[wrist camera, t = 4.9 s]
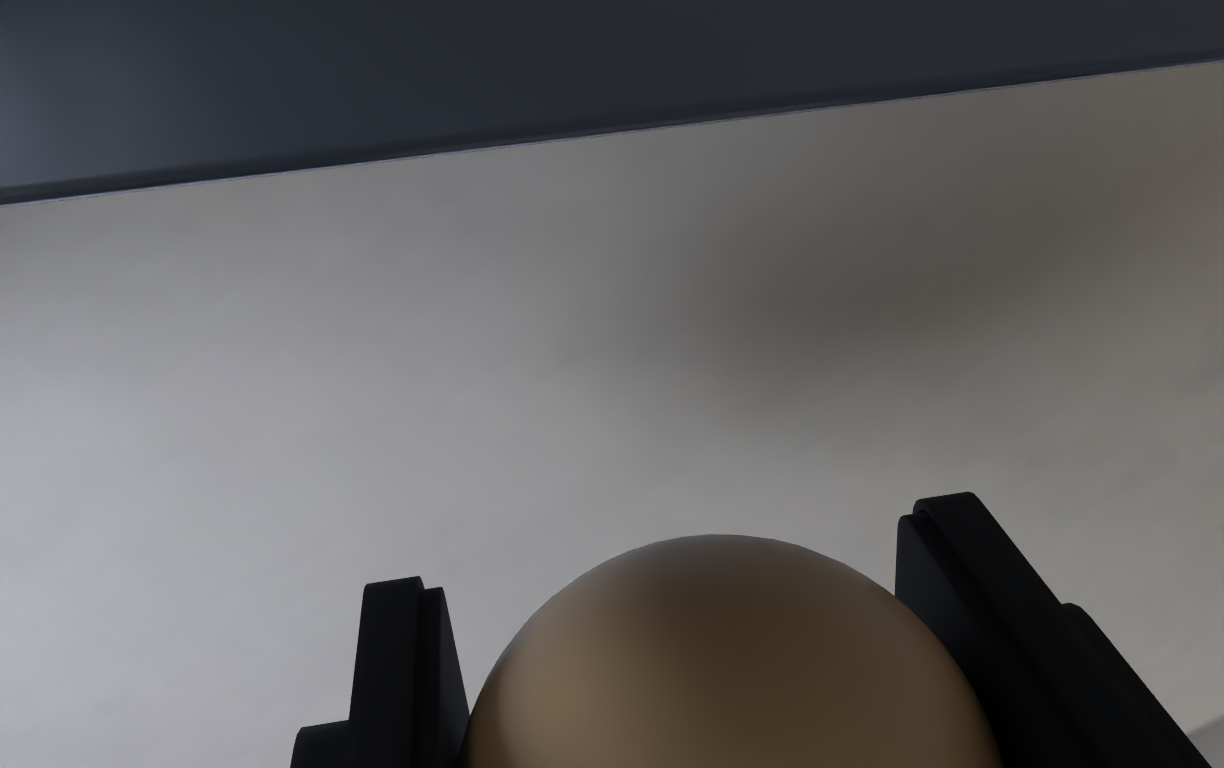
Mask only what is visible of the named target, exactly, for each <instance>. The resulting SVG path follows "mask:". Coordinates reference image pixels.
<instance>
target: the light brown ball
mask: <svg viewBox="0 0 1224 768" xmlns="http://www.w3.org/2000/svg"><path fill="white" fill-rule="evenodd" d="M456 768H1005V767H1004V763H1003V760H1002V757H1001V754H1000V751H999V747H998V744H997V741H996V739H995V736H994V733H993V730H992V728H991V725H990V722H989V720H988V717H987V715H986V713H985V711H984V709H983V707H982V705H981V703H980V701H979V699H978V697H977V695H976V693H975V691H974V689H973V688H972V686H971V685H970V683H969V681H968V680H967V678H966V676H965V675H964V673H963V671H962V670H961V668H960V667H959V665H958V664H957V663H956V661H955V660H954V658H953V657H952V656H951V654H950V653H949V652H948V650H947V649H946V647H945V646H944V645H943V643H942V642H941V641H940V640H939V639H938V638H937V637H936V636H935V635H934V633H933V632H932V631H931V630H930V629H929V628H928V627H927V626H926V625H925V624H924V623H923V622H922V621H921V620H920V619H919V618H918V617H917V616H916V615H915V614H914V613H913V612H912V611H911V610H910V609H909V608H908V607H907V606H906V605H905V604H903V603H902V602H901V601H900V600H898V599H897V598H896V597H895V596H893V595H892V594H891V593H890V592H888V591H887V590H886V589H884V588H883V587H881V586H880V585H878V584H877V583H876V582H874V581H873V580H871V579H870V578H868V577H867V576H865V575H863V574H861V573H860V572H858V571H856V570H854V569H853V568H851V567H849V566H847V565H846V564H844V563H842V562H839V561H837V560H834V559H832V558H829V557H827V556H824V555H822V554H819V553H817V552H814V551H812V550H809V549H807V548H804V547H802V546H799V545H795V544H791V543H787V542H783V541H779V540H775V539H768V538H760V537H752V536H744V535H717V534H707V535H697V536H687V537H679V538H675V539H670V540H665V541H660V542H655V543H652V544H649V545H646V546H643V547H640V548H637V549H633V550H630V551H628V552H626V553H623V554H621V555H619V556H616V557H614V558H612V559H610V560H607V561H605V562H603V563H602V564H600V565H598V566H596V567H595V568H593V569H591V570H590V571H588V572H586V573H584V574H583V575H581V576H580V577H578V578H577V579H576V580H574V581H573V582H572V583H570V584H569V585H568V586H566V587H565V588H563V589H562V590H561V591H559V592H558V593H557V594H555V595H554V596H553V597H551V598H550V599H549V600H548V601H547V602H546V603H545V604H544V605H543V606H542V607H541V608H540V609H539V610H537V611H536V612H535V613H534V614H533V615H532V616H531V617H530V618H529V620H528V621H527V622H526V623H525V624H524V626H523V627H522V628H521V629H520V631H519V632H518V633H517V634H516V635H515V637H514V638H513V639H512V641H511V642H510V643H509V645H508V646H507V647H506V648H505V650H504V651H503V652H502V654H501V655H500V657H499V659H498V660H497V662H496V664H495V665H494V667H493V669H492V670H491V672H490V674H489V675H488V677H487V679H486V681H485V683H484V685H483V688H482V690H481V692H480V694H479V696H478V698H477V701H476V703H475V706H474V708H473V710H472V713H471V715H470V718H469V720H468V722H467V726H466V730H465V734H464V737H463V741H462V745H461V749H460V753H459V758H458V762H457V766H456Z"/></svg>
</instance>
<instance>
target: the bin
mask: <svg viewBox="0 0 1224 768" xmlns="http://www.w3.org/2000/svg"><path fill="white" fill-rule="evenodd" d="M1222 62H1224V0H0V208H3V207H11V206H20V205H28V204H36V203H45V202H53V201H62V200H70V199H79V198H87V197H95V196H104V195H112V194H121V193H129V192H137V191H146V190H154V189H163V188H171V187H179V186H188V185H196V184H205V183H213V182H221V181H230V180H238V179H247V178H255V177H263V176H272V175H280V174H289V173H297V172H305V171H314V170H322V169H331V168H339V167H348V166H356V165H364V164H373V163H381V162H390V161H398V160H406V159H415V158H423V157H432V156H440V155H448V154H457V153H465V152H474V151H482V150H490V149H499V148H507V147H516V146H524V145H532V144H541V143H549V142H558V141H566V140H575V139H583V138H591V137H600V136H608V135H617V134H625V133H633V132H642V131H650V130H659V129H667V128H675V127H684V126H692V125H701V124H709V123H717V122H726V121H734V120H743V119H751V118H759V117H768V116H776V115H785V114H793V113H801V112H810V111H818V110H827V109H835V108H844V107H852V106H860V105H869V104H877V103H886V102H894V101H902V100H911V99H919V98H928V97H936V96H944V95H953V94H961V93H970V92H978V91H986V90H995V89H1003V88H1012V87H1020V86H1028V85H1037V84H1045V83H1054V82H1062V81H1070V80H1079V79H1087V78H1096V77H1104V76H1113V75H1121V74H1129V73H1138V72H1146V71H1155V70H1163V69H1171V68H1180V67H1188V66H1197V65H1205V64H1213V63H1222Z"/></svg>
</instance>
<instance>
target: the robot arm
mask: <svg viewBox="0 0 1224 768" xmlns="http://www.w3.org/2000/svg"><path fill="white" fill-rule="evenodd" d="M895 597H896V598H897V599H898V600H900V601H901V602H902V603H903V604H905V605H906V606H907V607H908V608H909V609H910V610H911V611H912V612H913V613H914V614H915V615H916V616H917V617H918V618H919V619H920V620H921V621H922V622H923V623H924V624H925V625H926V626H927V627H928V628H929V629H930V630H931V631H932V632H933V633H934V635H935V636H936V637H937V638H938V639H939V640H940V641H941V642H942V643H943V645H944V646H945V647H946V649H947V650H948V652H949V653H950V654H951V656H952V657H953V658H954V660H955V661H956V663H957V664H958V665H959V667H960V668H961V670H962V671H963V673H964V675H965V676H966V678H967V680H968V681H969V683H970V685H971V686H972V688H973V689H974V691H975V693H976V695H977V697H978V699H979V701H980V703H981V705H982V707H983V709H984V711H985V713H986V715H987V717H988V720H989V722H990V725H991V728H992V730H993V733H994V736H995V739H996V741H997V744H998V747H999V751H1000V754H1001V757H1002V760H1003V763H1004V767H1005V768H1212V767H1211V766H1210V765H1209V764H1208V762H1207V761H1206V760H1205V759H1204V757H1203V756H1202V755H1201V754H1200V752H1199V751H1198V750H1197V749H1196V747H1195V746H1194V745H1193V744H1192V742H1190V740H1189V739H1188V737H1187V736H1186V735H1185V734H1184V732H1183V731H1182V730H1181V729H1180V727H1179V726H1178V725H1177V724H1176V722H1175V721H1174V720H1173V719H1172V717H1171V716H1170V715H1169V714H1168V713H1167V711H1166V710H1165V709H1164V708H1163V706H1162V705H1161V704H1160V703H1159V701H1158V700H1157V699H1156V698H1155V696H1154V695H1153V694H1152V693H1151V691H1150V690H1149V689H1148V688H1147V686H1146V685H1145V684H1144V683H1143V681H1142V680H1141V679H1140V678H1139V676H1138V675H1137V674H1136V673H1135V672H1134V670H1133V669H1132V668H1131V667H1130V665H1129V664H1128V663H1127V662H1126V660H1125V659H1124V658H1123V657H1122V655H1121V654H1120V653H1119V652H1118V650H1117V649H1116V648H1115V647H1114V645H1113V644H1112V643H1111V642H1110V640H1109V639H1108V638H1107V637H1106V635H1105V634H1104V633H1103V632H1102V630H1101V629H1100V628H1099V627H1098V626H1097V624H1096V623H1095V622H1094V621H1093V619H1092V618H1091V617H1090V616H1089V615H1088V614H1087V613H1086V612H1085V611H1084V610H1083V609H1082V608H1081V607H1079V606H1077V605H1075V604H1072V603H1065V604H1061V603H1060V602H1059V601H1058V599H1057V598H1056V597H1055V595H1054V594H1053V593H1052V592H1051V590H1050V589H1049V588H1048V586H1047V585H1046V584H1045V583H1044V581H1043V580H1042V579H1041V578H1040V576H1039V575H1038V574H1037V572H1036V571H1035V570H1034V569H1033V567H1032V566H1031V565H1030V563H1029V562H1028V561H1027V560H1026V558H1025V557H1024V556H1023V554H1022V553H1021V552H1020V551H1019V549H1018V548H1017V547H1016V545H1015V544H1014V543H1013V542H1012V540H1011V539H1010V538H1009V537H1008V535H1007V534H1006V533H1005V531H1004V530H1003V529H1002V528H1001V526H1000V525H999V524H998V522H997V521H996V520H995V519H994V517H993V516H992V515H991V513H990V512H989V511H988V510H987V508H986V507H985V506H984V504H983V503H982V502H981V501H980V499H979V498H978V497H977V496H976V495H975V494H974V493H971V492H963V493H956V494H950V495H943V496H937V497H930V498H924V499H919V500H918V501H916V503H915V505H914V507H913V514H910V515H903V516H901V517H900V519H899V522H898V531H897V554H896V577H895ZM469 718H470V714H469V709H468V704H467V699H466V695H465V690H464V685H463V680H462V675H461V670H460V666H459V661H458V656H457V651H456V646H455V641H454V637H453V632H452V627H451V622H450V617H449V613H448V608H447V603H446V598H445V594H444V590H443V588H442V587H437V588H431V589H424V585H423V582H422V579H421V577H420V576H415V577H409V578H402V579H396V580H389V581H383V582H376V583H370V584H366V586H365V588H364V593H363V601H362V610H361V618H360V627H359V636H358V644H357V653H356V662H355V670H354V679H353V688H352V696H351V705H350V714H349V720H345V721H339V722H333V723H327V724H320V725H314V726H308V727H302V728H301V729H300V731H299V732H298V734H297V737H296V740H295V744H294V749H293V754H292V760H291V766H290V768H456V766H457V762H458V758H459V753H460V749H461V745H462V741H463V737H464V734H465V730H466V726H467V722H468V720H469Z"/></svg>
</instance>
